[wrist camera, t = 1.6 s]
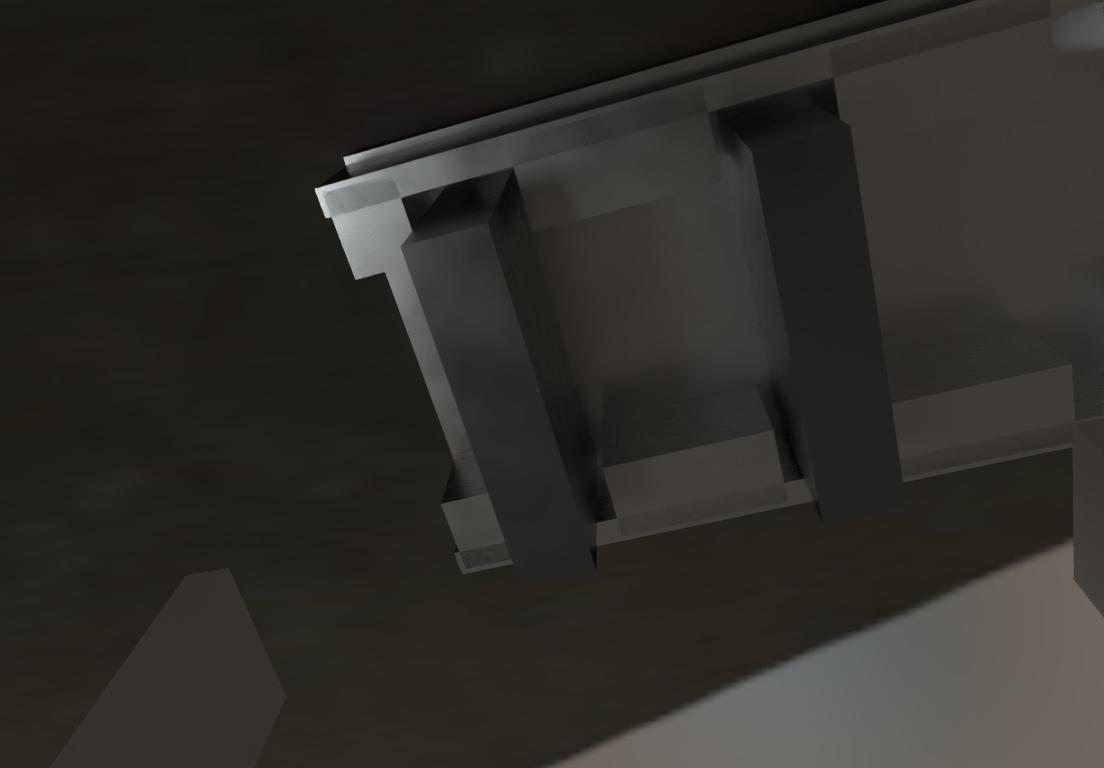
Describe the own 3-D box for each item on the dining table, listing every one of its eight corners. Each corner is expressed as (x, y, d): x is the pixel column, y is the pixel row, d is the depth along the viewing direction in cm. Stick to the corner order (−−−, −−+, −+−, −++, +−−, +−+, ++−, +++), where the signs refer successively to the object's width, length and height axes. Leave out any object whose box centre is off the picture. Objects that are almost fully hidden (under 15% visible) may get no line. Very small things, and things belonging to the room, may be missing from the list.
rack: (479, 513, 40) (449, 649, 31) (349, 153, 33) (269, 208, 25) (1202, 355, 35) (1381, 467, 27) (1202, -94, 29) (1434, -122, 21)
